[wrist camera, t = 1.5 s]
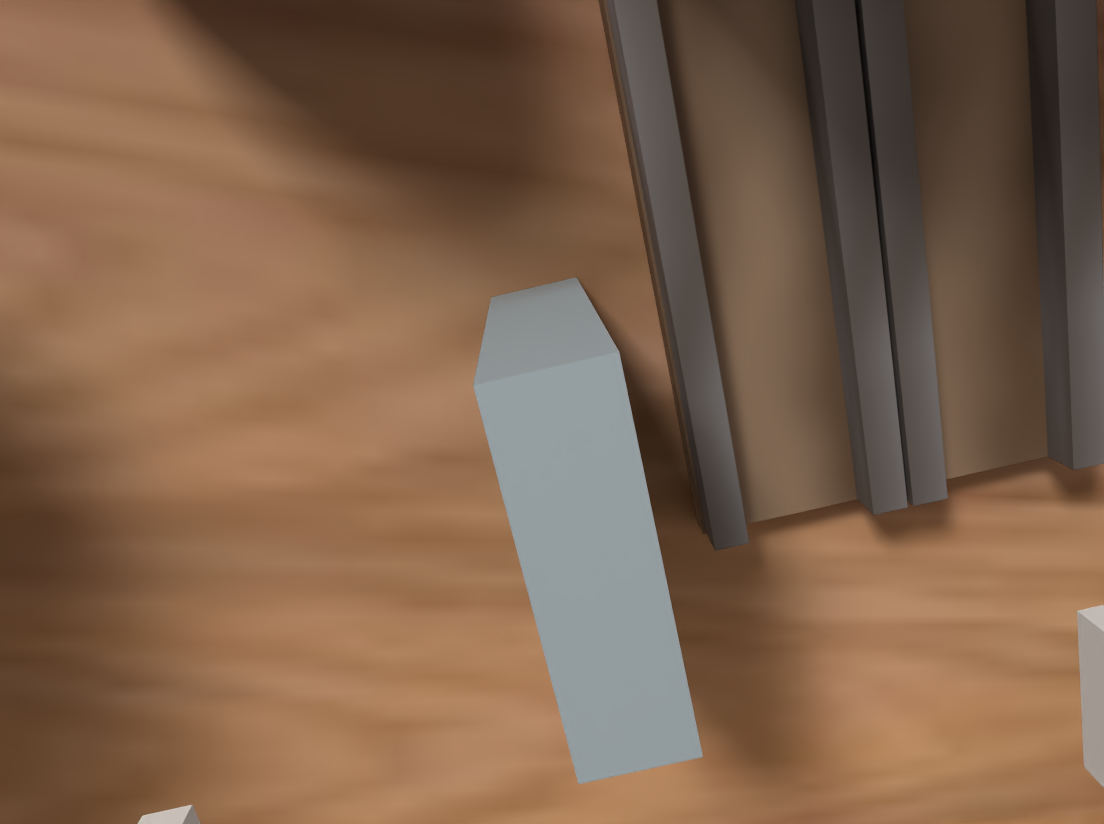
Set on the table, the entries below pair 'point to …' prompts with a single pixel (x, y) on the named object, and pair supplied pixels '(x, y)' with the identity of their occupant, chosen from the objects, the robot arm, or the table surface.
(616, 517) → the pale grey rectangular block
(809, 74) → the track sill
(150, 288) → the table surface
